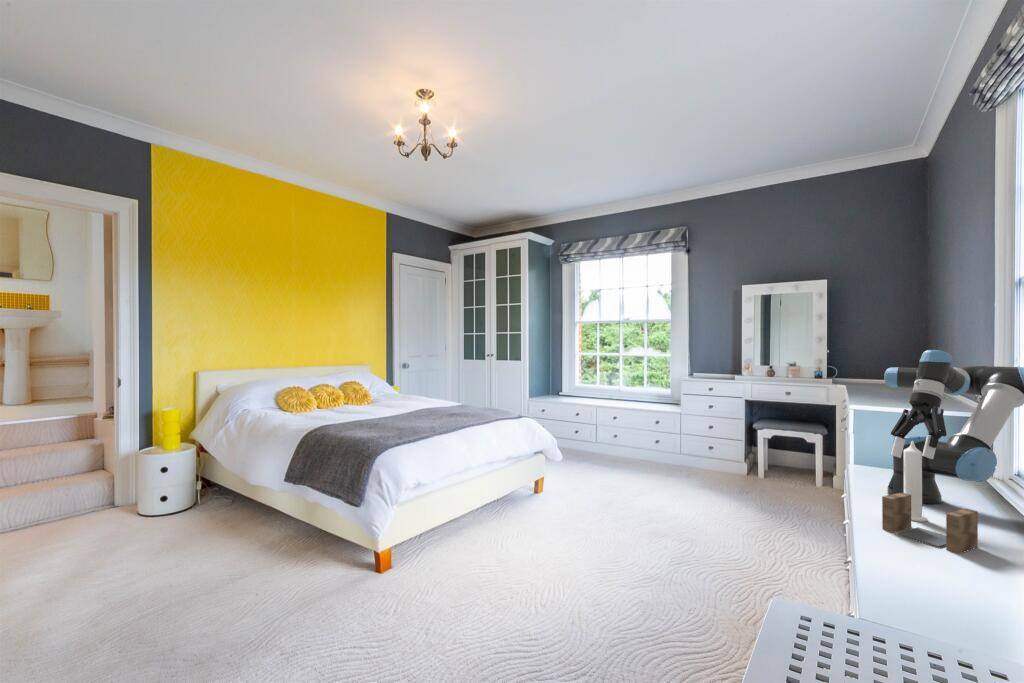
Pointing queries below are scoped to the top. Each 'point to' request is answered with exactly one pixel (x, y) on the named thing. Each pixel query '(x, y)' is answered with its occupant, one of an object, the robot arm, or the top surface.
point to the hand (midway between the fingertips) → (910, 456)
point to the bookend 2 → (961, 530)
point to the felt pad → (925, 536)
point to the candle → (914, 481)
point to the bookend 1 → (896, 512)
